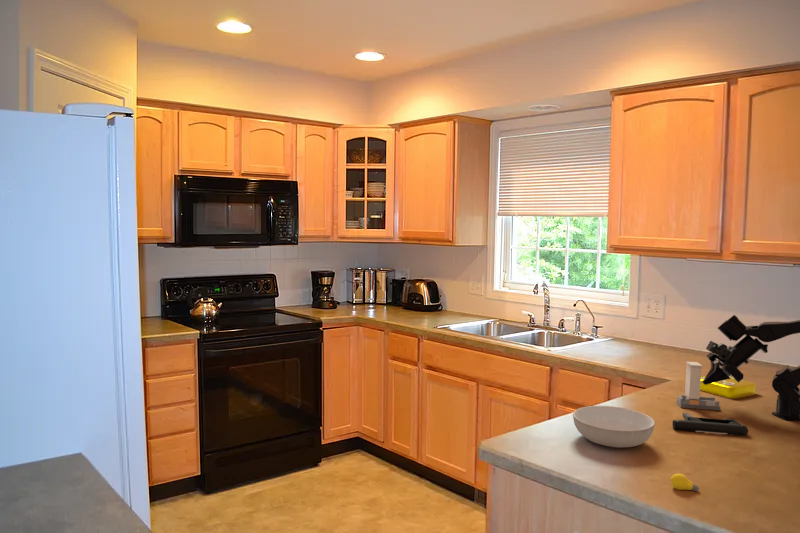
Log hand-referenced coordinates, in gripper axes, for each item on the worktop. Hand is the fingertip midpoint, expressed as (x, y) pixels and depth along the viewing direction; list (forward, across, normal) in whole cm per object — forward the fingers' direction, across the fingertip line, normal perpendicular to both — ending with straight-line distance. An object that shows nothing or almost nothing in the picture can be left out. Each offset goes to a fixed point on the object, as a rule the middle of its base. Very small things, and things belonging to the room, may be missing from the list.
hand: (703, 383), depth 202 cm
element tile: (-4, -24, +16) cm, 29 cm away
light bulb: (+23, +69, -11) cm, 73 cm away
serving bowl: (+30, +41, -19) cm, 54 cm away
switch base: (+6, 0, +5) cm, 8 cm away
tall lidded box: (+7, 0, +2) cm, 7 cm away
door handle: (+10, +20, +2) cm, 23 cm away
